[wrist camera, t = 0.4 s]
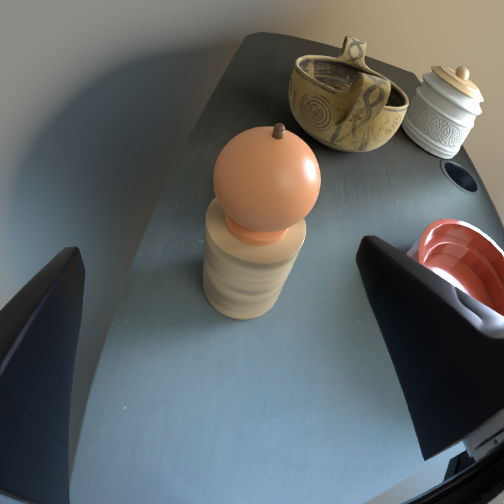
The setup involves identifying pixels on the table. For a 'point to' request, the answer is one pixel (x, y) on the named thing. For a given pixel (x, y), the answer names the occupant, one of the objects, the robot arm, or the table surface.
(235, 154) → the peach
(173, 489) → the table surface
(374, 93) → the ceramic bowl
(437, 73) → the jar
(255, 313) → the wooden cylinder
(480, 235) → the bowl
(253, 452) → the table surface
